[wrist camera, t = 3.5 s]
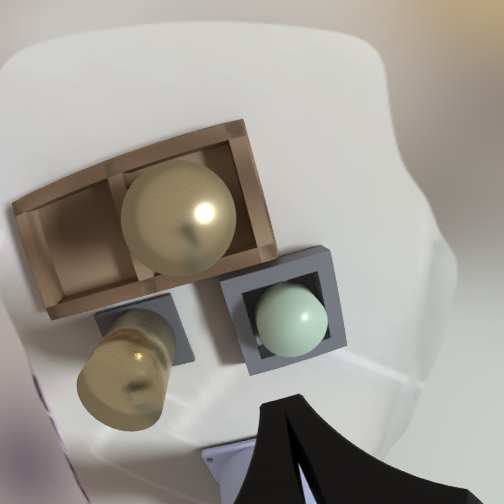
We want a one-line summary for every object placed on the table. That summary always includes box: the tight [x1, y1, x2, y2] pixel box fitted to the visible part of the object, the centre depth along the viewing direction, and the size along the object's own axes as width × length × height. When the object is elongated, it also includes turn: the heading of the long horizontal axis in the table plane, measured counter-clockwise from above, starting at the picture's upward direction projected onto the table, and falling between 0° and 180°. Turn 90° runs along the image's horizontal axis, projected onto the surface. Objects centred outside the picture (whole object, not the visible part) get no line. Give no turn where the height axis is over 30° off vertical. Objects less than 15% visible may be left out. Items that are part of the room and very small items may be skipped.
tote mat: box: [94, 293, 195, 366], centre depth 18 cm, size 4×5×1 cm
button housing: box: [220, 245, 347, 376], centre depth 18 cm, size 6×6×2 cm
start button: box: [254, 282, 328, 357], centre depth 17 cm, size 4×4×2 cm
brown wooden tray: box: [12, 119, 279, 320], centre depth 16 cm, size 8×14×2 cm, turn 105°
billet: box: [77, 308, 176, 431], centre depth 15 cm, size 4×4×6 cm
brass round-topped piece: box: [121, 160, 236, 277], centre depth 14 cm, size 4×4×6 cm
